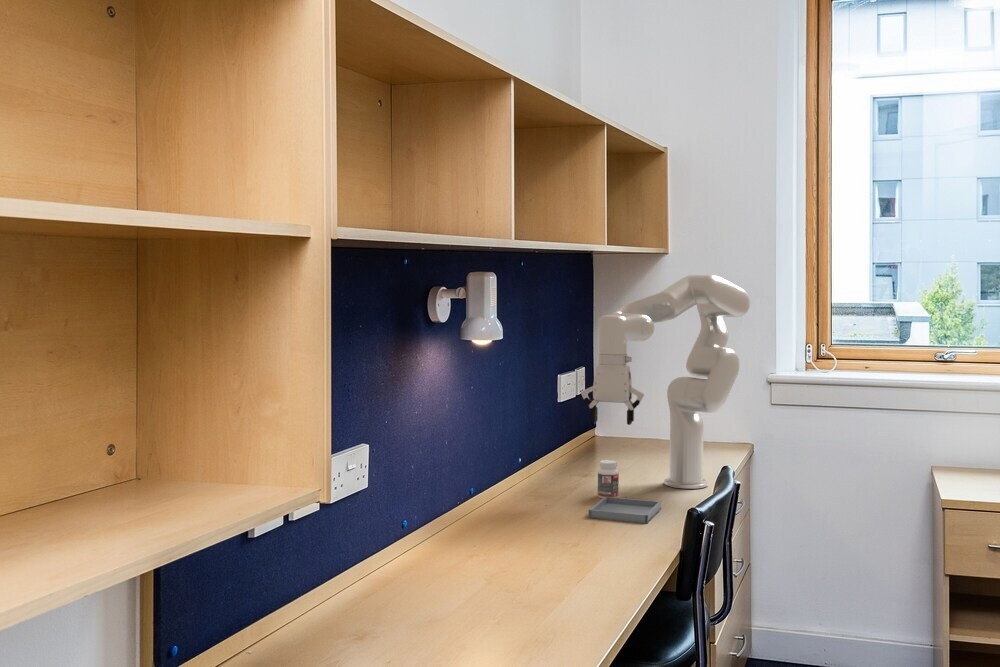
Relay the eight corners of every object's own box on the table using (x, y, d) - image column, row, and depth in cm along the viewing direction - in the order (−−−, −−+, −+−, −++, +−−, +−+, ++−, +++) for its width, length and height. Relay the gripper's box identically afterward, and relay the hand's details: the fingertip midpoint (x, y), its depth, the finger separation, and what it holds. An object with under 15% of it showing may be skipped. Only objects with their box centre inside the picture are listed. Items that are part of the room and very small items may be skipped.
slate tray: (605, 503, 260) (605, 496, 260) (661, 509, 254) (661, 501, 254) (588, 517, 245) (588, 509, 245) (647, 523, 239) (647, 515, 239)
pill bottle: (617, 500, 264) (617, 464, 264) (596, 499, 265) (596, 463, 265) (619, 495, 270) (619, 460, 269) (598, 494, 271) (599, 459, 270)
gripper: (646, 360, 264) (646, 422, 265) (585, 358, 270) (584, 419, 271) (641, 362, 257) (640, 426, 258) (578, 360, 263) (577, 423, 264)
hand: (611, 423), depth 264 cm, fingers open, 9 cm apart
